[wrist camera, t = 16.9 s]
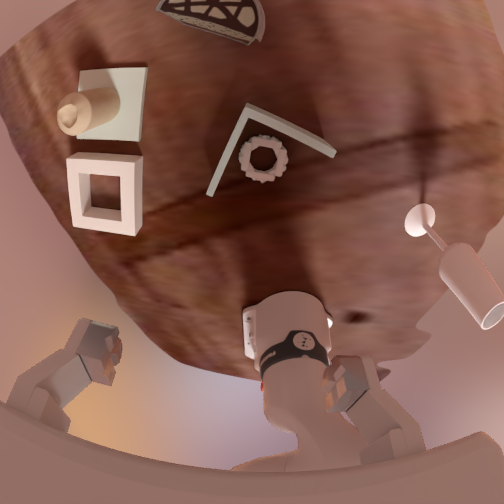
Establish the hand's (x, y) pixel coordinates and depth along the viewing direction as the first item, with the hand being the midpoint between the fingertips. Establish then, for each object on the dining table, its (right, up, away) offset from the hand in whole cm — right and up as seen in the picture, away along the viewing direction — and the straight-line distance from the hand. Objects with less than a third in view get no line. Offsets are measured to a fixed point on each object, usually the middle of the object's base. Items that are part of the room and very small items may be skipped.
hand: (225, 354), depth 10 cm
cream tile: (-20, +25, +24) cm, 40 cm away
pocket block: (-22, +14, +32) cm, 41 cm away
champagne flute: (+31, +9, +35) cm, 47 cm away
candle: (-20, +25, +24) cm, 40 cm away
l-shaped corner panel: (+3, +18, +30) cm, 35 cm away
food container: (-3, +35, +18) cm, 39 cm away
